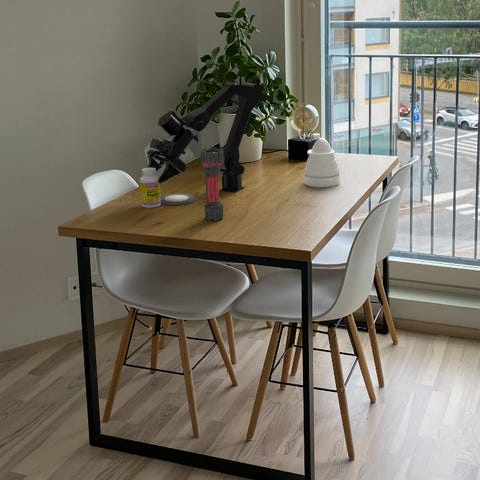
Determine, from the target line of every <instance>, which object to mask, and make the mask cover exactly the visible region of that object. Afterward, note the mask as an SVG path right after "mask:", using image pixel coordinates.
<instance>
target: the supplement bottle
mask: <svg viewBox="0 0 480 480" xmlns="http://www.w3.org/2000/svg"><path fill="white" fill-rule="evenodd" d="M141 174H142V176H141V177H140V178H139V186H140V202H141V203H140V204H141V206H142V207H143V208H146V209H151V208H153V209H154V208H158V207H159V206H161V205H162V204H161V198H160V197H161V183H158V180H159V178H160V176H158V175H156V174H157V172H156V168H148V167H145V168H142V171H141Z"/></svg>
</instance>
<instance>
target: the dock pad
mask: <svg viewBox="0 0 480 480" xmlns="http://www.w3.org/2000/svg"><path fill="white" fill-rule="evenodd" d="M160 198H161V204H160V205H163V206H172V207H174V206H185V205H189V204H192V203H194V202H195V201H196V196H195V195H193V194H189V193H172V194H171V193H170V194H169V193H168V194H165V195H162V196H161V195H160Z"/></svg>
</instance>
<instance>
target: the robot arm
mask: <svg viewBox="0 0 480 480" xmlns="http://www.w3.org/2000/svg"><path fill="white" fill-rule="evenodd" d="M263 94H264V92H263V89H262V87H261V85H260V84H256V83H250V82H244V83H242V84H237V83H235V82H234V83H233V82H227V83H225V84H224V86H223V87H222V88H221V89H219V90H218V91H217V92H216V93H215V94H214V95H213V96H212V97H210V99H209V100H207V101H206V102H205V103H204V104H203V105H202V106H200V107H198V108H195V109H194V110H193V109H192V111H190V112H188V113H187V114H186V115H185V116H184V117H179V116H178V115H177V113H176V112H175V111H173V110H169V111H168V112H167V113H165V114H163V115H162V116H160V117H159V120H158V121H157V125H158V126H159V127H160V128H161V129H162V130H163V131H164V132H165V133H167V135H168V136H170V137H172V138H171V140H169V139H168V140H167V139H162V140H159V139H157V138H156V139H155V138H152V140H151V141H150V144H149V148H150V149H149V150H147V152H146V156H147V158H148V166H147V168H156V173H157V172H158V171H159V170H161V168H163V166H164V164H165V168H164V170H163V171H162V173H161V175H160V176H159V180H158V183H160V184H162V183H164V182H166V181H168V180H169V179H171V178H173V177H175V176H178V175H180V174H182V173H183V174H184V173H185V172H186V170H187V168H188V165H187V163H185V162H184V160H182V159H181V156H182V155H183V156H184V155H185V154H186V153H187V152H186V149H187V148H188V146H189V145H190V143H191V142H192V141H193V142H195V143H198V142H199V136H198V133H194V132H193V131H195V132H202V131H204V130H205V129H206V127H207V126H208V125H209V124H210V121H211V119H212V117H213V116H214V115H215V114H216V113H217V112H218V111H219V110H220V109H221V108H223V107H224V105H226V104H227V103H228V102H229V101H230V100H231V99H232V98H234V96H237V100H238V101H237V102H238V108H237V110H236V113H235V116H234V119H233V122H232V124H231V127H230V130H229V133H228V135H227V139H226V142H225V144H224V145H223V146H220V145H219V146H218V147H217V149H220V148H222V149H223V150H224V162H223V165H222V168H221V170H220V171H219V173H220V172H221V174H222V176H221V188H220V191H225V192H232V193H233V192H239V191H241V190H242V189H244V188H245V186H244V185H243V181H242V179H243V178H242V177H243V176H242V175H243V174H244V173H245V169H246V168H245V167H244V166H243V165H242V164H241V163H240V157H241V156H240V147H241V142H242V140H243V137H244V133H245V131H246V128H247V126H248V123H249V119H250V116H251V113H252V111H253V110H254V108H256V107H257V105H258V104H259V103H260V101H261V99H262V96H263Z"/></svg>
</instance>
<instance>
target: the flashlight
mask: <svg viewBox="0 0 480 480" xmlns="http://www.w3.org/2000/svg"><path fill="white" fill-rule="evenodd" d="M200 162H201V166H202V170H203V171H204V174H205V190H206V191H205V193H206V196H205V197H206V203H205V204H204V217H205V219H206V220H207V221H209V222H210V221H215V222H218V221H220V220H223V219H224V205H223V204H222V202H221V199H220V186H219V173H220V170H221V168H222V165H223V162H224V150H223V149H222V148H220V149H218V148H217V147H215V146H213V147H210V148H202V149H201V151H200Z"/></svg>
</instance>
